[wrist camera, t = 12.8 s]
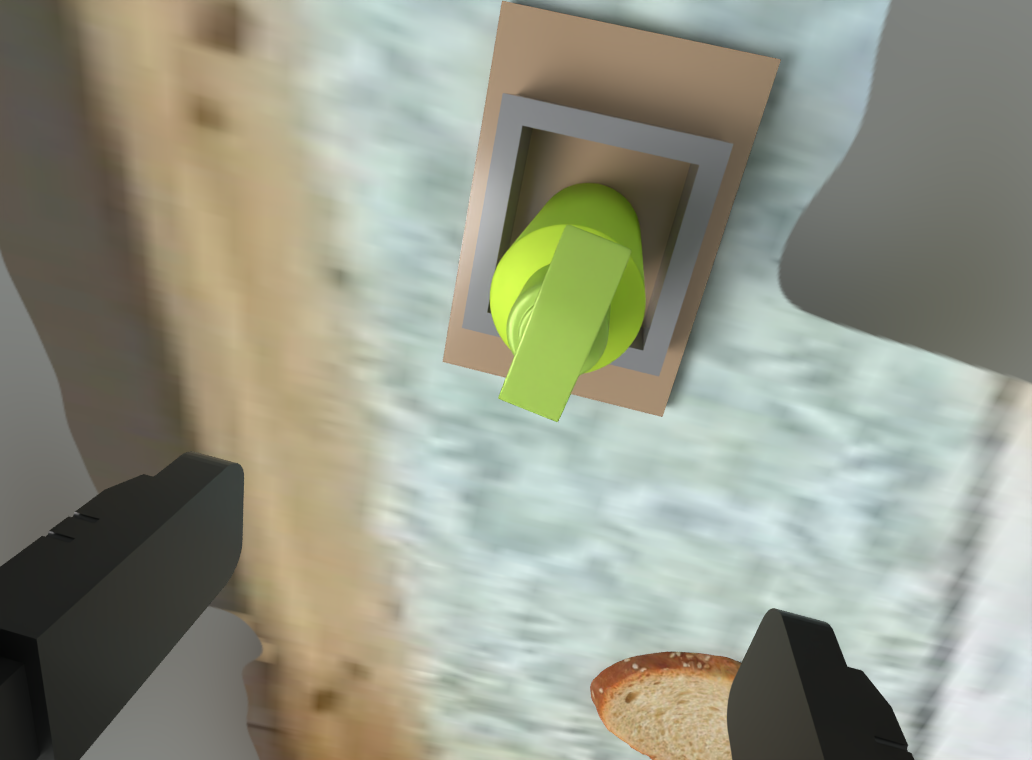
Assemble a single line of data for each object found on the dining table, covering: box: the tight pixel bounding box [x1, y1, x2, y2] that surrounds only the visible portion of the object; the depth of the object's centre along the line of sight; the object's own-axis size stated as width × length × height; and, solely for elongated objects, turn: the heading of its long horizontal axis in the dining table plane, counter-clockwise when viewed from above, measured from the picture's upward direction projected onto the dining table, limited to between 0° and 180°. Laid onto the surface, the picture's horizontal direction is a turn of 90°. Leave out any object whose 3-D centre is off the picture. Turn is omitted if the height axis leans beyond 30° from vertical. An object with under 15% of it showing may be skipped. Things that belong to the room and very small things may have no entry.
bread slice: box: [590, 652, 741, 760], centre depth 49 cm, size 18×18×4 cm
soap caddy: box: [443, 1, 781, 417], centre depth 35 cm, size 20×14×6 cm
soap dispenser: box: [490, 183, 646, 422], centre depth 27 cm, size 6×7×20 cm
